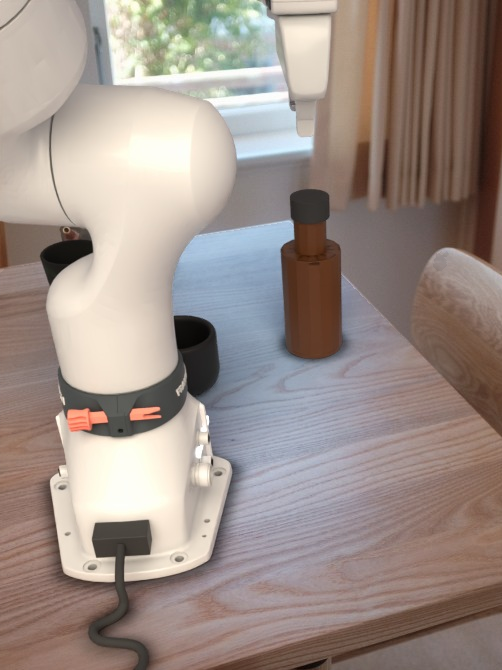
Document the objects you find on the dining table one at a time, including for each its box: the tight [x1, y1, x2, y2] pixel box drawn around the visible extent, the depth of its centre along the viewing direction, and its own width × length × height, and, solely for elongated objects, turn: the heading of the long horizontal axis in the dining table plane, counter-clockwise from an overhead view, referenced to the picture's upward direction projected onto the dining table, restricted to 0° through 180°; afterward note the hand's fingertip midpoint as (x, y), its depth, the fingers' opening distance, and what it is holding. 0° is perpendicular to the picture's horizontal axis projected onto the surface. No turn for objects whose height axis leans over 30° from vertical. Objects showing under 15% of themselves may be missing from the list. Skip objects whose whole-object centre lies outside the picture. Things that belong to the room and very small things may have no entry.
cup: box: [39, 239, 93, 287], centre depth 115 cm, size 8×8×12 cm
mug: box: [173, 314, 221, 397], centre depth 107 cm, size 12×9×7 cm
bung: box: [289, 188, 331, 224], centre depth 106 cm, size 5×5×4 cm
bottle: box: [279, 220, 343, 360], centre depth 112 cm, size 7×7×17 cm
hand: (301, 121), depth 100 cm, fingers open, 8 cm apart
